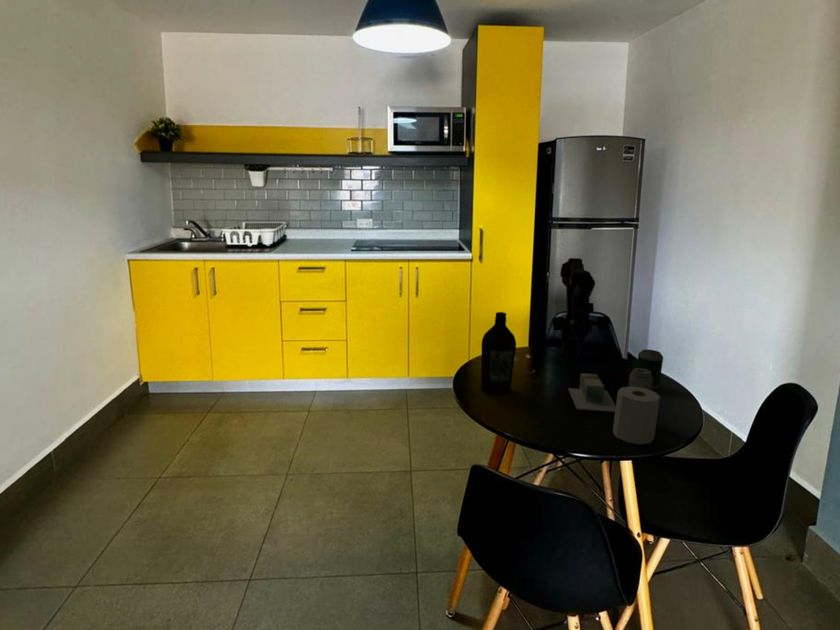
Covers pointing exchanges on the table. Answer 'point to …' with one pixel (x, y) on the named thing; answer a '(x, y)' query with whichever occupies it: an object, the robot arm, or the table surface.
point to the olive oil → (497, 357)
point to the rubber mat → (593, 406)
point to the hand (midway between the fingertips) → (581, 346)
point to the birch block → (591, 387)
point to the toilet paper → (636, 415)
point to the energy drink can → (641, 378)
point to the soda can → (651, 364)
